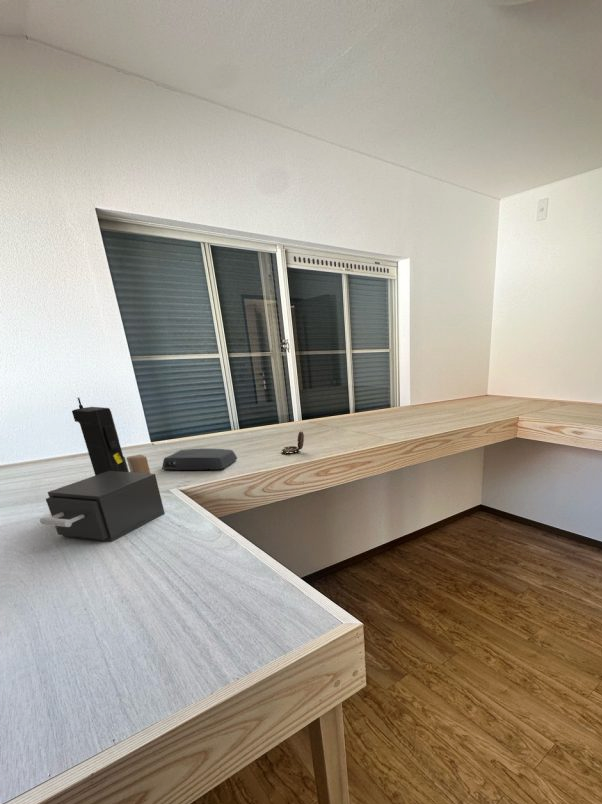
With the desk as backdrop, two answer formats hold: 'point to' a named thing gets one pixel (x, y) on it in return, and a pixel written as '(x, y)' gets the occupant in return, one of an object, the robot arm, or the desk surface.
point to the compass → (294, 448)
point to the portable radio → (100, 439)
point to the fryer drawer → (76, 517)
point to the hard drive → (199, 459)
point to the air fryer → (119, 499)
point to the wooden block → (138, 464)
